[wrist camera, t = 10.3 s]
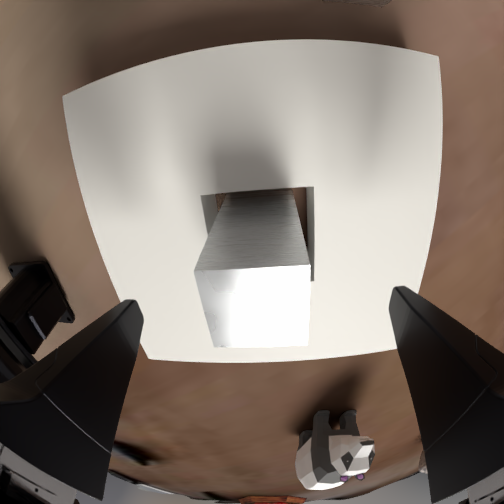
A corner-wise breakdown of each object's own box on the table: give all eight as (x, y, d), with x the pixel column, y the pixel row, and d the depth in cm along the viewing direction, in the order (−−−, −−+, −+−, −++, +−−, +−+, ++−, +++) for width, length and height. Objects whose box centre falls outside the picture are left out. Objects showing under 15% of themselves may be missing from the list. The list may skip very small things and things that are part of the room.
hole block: (160, 330, 21) (148, 358, 18) (93, 93, 12) (62, 96, 10) (387, 319, 19) (399, 348, 17) (410, 61, 10) (438, 56, 8)
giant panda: (330, 439, 31) (334, 497, 23) (292, 439, 31) (292, 500, 23) (380, 385, 24) (399, 466, 16) (332, 385, 24) (343, 474, 16)
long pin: (236, 244, 17) (213, 347, 10) (228, 189, 15) (193, 271, 8) (293, 240, 16) (307, 344, 10) (290, 185, 15) (310, 265, 8)
